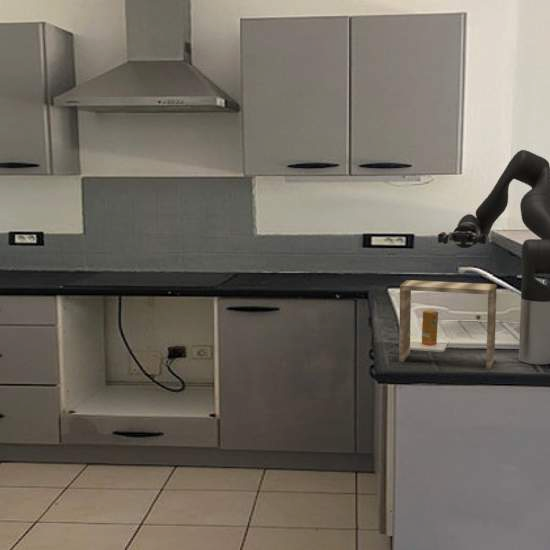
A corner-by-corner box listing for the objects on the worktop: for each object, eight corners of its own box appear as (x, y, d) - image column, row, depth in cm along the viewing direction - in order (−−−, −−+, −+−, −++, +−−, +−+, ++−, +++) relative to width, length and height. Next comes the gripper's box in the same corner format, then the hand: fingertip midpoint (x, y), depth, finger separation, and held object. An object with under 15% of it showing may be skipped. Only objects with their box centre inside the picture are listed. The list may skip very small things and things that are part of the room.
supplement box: (430, 346, 241) (430, 312, 240) (421, 344, 244) (421, 310, 242) (437, 344, 243) (438, 310, 242) (428, 342, 246) (429, 309, 244)
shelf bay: (494, 360, 227) (496, 284, 224) (490, 369, 219) (493, 290, 215) (405, 353, 235) (406, 280, 232) (399, 361, 227) (399, 285, 224)
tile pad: (449, 343, 247) (449, 341, 247) (443, 352, 237) (443, 350, 237) (412, 340, 251) (412, 338, 251) (404, 349, 240) (404, 347, 240)
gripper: (444, 222, 263) (435, 227, 248) (490, 223, 258) (484, 228, 244) (443, 245, 265) (434, 252, 250) (489, 247, 260) (483, 254, 245)
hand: (459, 240), depth 247 cm, fingers open, 8 cm apart
